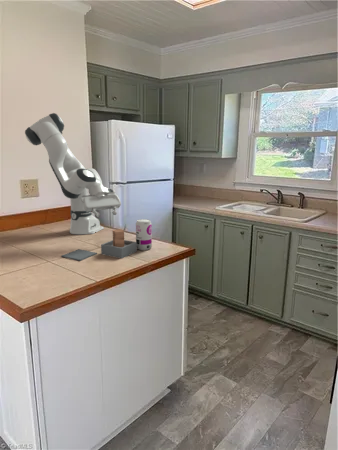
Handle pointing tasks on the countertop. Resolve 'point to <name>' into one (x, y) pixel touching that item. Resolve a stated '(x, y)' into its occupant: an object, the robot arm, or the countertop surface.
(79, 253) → the mat
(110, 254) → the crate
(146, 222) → the supplement can
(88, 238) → the countertop surface
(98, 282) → the countertop surface
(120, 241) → the block
